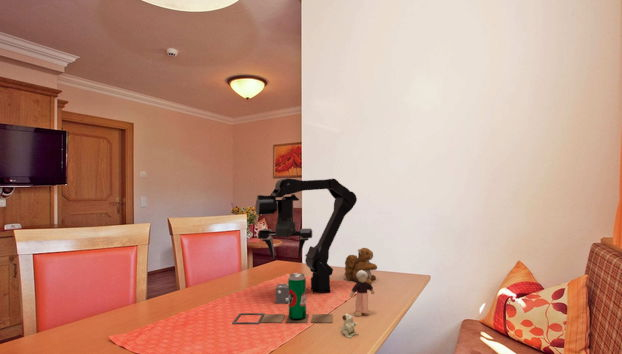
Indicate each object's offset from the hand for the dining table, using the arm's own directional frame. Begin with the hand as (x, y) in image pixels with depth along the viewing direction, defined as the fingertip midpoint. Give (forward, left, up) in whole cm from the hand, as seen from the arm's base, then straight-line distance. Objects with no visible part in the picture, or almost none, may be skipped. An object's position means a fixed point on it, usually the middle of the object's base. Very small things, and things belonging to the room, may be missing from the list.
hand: (286, 258), depth 118 cm
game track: (-2, +22, -13) cm, 26 cm away
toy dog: (-20, +32, -13) cm, 40 cm away
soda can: (-6, +22, -13) cm, 26 cm away
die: (0, +6, -13) cm, 14 cm away
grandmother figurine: (-25, +18, -13) cm, 33 cm away
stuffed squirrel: (-27, -21, -13) cm, 37 cm away
